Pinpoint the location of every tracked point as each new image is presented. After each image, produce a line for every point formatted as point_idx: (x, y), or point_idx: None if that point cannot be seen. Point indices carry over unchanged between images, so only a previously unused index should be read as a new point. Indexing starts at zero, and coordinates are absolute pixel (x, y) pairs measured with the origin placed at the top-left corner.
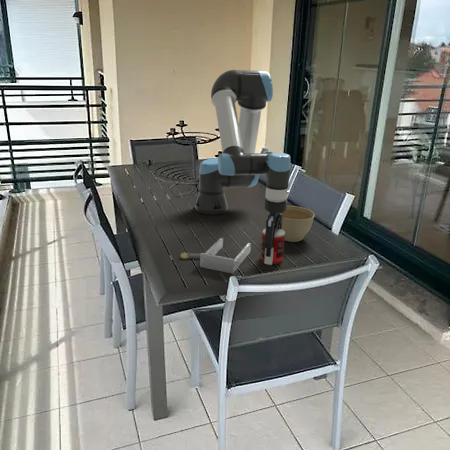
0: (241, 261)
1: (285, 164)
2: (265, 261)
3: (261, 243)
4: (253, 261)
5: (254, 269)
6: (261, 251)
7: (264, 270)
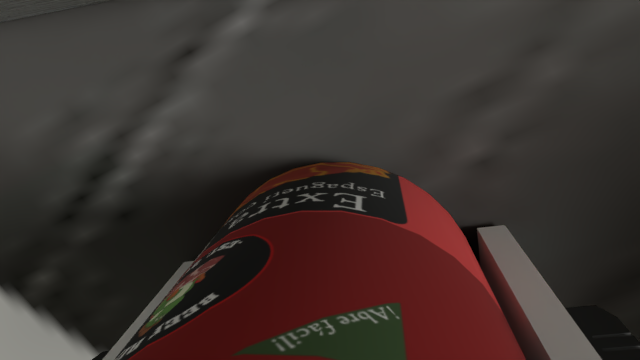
0: (22, 14)
1: None
2: None
3: (213, 262)
4: (172, 123)
5: (16, 219)
6: (222, 229)
7: (69, 311)
